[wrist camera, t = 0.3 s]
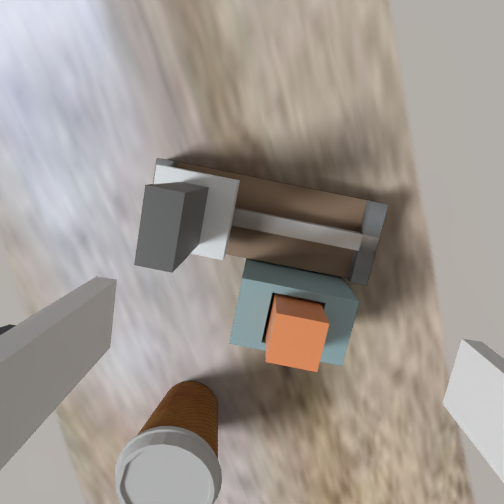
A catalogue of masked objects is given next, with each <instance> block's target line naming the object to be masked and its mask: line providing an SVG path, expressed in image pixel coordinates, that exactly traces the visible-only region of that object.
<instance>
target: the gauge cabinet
mask: <svg viewBox="0 0 504 504" xmlns="http://www.w3.org/2000/svg"><path fill="white" fill-rule="evenodd" d="M273 293H278V294H283V295H288V296H293V297H299V298H304V299H309V300H314V301H319V302H320V303H321V305H322V308H323V310H324V312H325V315H326V317H327V319H328V321H329V328H328V331H327V335H326V339H325V343H324V347H323V351H322V355H321V359H320V362H324V363H329V364H334V365H339V366H342V365H343V361H344V358H345V354H346V350H347V346H348V343H349V339H350V335H351V331H352V328H353V324H354V320H355V316H356V313H357V309H358V305H359V300H358V299H357V298H356V296H355V295H354V293H353V292H352V291H351V289H350V288H349V287H348V285H347V284H346V283H345V281H344V280H343V279H342V277H339V276H334V275H329V274H324V273H319V272H314V271H309V270H304V269H299V268H294V267H289V266H284V265H279V264H274V263H269V262H264V261H259V260H254V259H249V258H247V259H246V263H245V268H244V273H243V277H242V282H241V287H240V292H239V297H238V302H237V307H236V312H235V317H234V322H233V327H232V332H231V337H230V342H229V344H233V345H239V346H244V347H249V348H254V349H259V350H264V351H266V340H265V326H266V321H267V317H268V312H269V308H270V303H271V298H272V294H273Z"/></svg>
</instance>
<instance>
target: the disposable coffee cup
mask: <svg viewBox="0 0 504 504" xmlns="http://www.w3.org/2000/svg"><path fill="white" fill-rule="evenodd" d="M115 478H116V481H115V485H116V493H117V496H118V499H119V501H120V503H121V504H213V503H214V502H215V500H216V499H217V497H218V494H219V492H220V489H221V483H222V474H221V468H220V465H219V462H218V403H217V400H216V397H215V395H214V394H213V392H212V391H211V390H210V389H209V388H208V387H206V386H204V385H202V384H200V383H197V382H192V381H188V382H181V383H179V384H177V385H175V386H173V387H172V388H171V389H170V390H169V391H168V393H167V394H166V396H165V397H164V398H163V400H162V401H161V403H160V404H159V405H158V407H157V408H156V410H155V411H154V412H153V414H152V415H151V417H150V418H149V419H148V421H147V422H146V424H145V425H144V426H143V428H142V429H141V431H140V432H139V433H138V435H137V436H136V437H134V438H133V439H132V440H131V441H130V442H128V443H127V444H126V445H125V447H124V448H123V449H122V451H121V453H120V455H119V457H118V459H117V462H116V469H115Z"/></svg>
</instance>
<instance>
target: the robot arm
mask: <svg viewBox="0 0 504 504" xmlns="http://www.w3.org/2000/svg"><path fill="white" fill-rule="evenodd" d="M116 281H117V280H114V279H108V278H102V277H95V278H93V279H92V280H90V281H88V282H87V283H85V284H83V285H82V286H80V287H79V288H77V289H75V290H74V291H72V292H70V293H69V294H67V295H65V296H64V297H62V298H60V299H59V300H57V301H56V302H54V303H52V304H51V305H49V306H47V307H46V308H44V309H42V310H41V311H39V312H38V313H36V314H34V315H33V316H31V317H29V318H28V319H26V320H24V321H23V322H21V323H19V324H18V325H7V326H4V327H0V470H1V469H2V468H3V467H4V466H5V464H6V463H7V462H8V461H9V460H10V459H11V458H12V457H13V456H14V454H15V453H16V452H17V451H18V450H19V449H20V448H21V447H22V445H23V444H24V443H25V442H26V441H27V440H28V439H29V438H30V436H31V435H32V434H33V433H34V432H35V431H36V430H37V428H39V426H40V425H41V424H42V423H43V422H44V421H45V419H47V417H48V416H49V415H50V414H51V413H52V412H53V411H54V410H55V408H56V407H57V406H58V405H59V404H60V403H61V402H62V401H63V400H64V398H65V397H66V396H67V395H68V394H69V393H70V392H71V391H72V389H73V388H74V387H75V386H76V385H77V384H78V383H79V382H80V380H81V379H82V378H83V377H84V376H85V375H86V374H87V373H88V372H89V370H90V369H91V368H92V367H93V366H94V365H95V364H96V363H97V361H98V360H99V359H100V358H101V357H102V356H103V355H104V354H105V352H106V351H107V350H108V349H109V348H110V342H111V332H112V322H113V312H114V302H115V291H116ZM443 405H444V406H445V408H446V409H447V410H448V411H449V413H450V414H451V415H452V417H453V418H454V419H455V421H456V422H457V423H458V424H459V426H460V427H461V428H462V430H463V431H464V432H465V433H466V435H467V436H468V437H469V439H470V440H471V441H472V442H473V444H474V445H475V446H476V448H477V449H478V450H479V452H480V453H481V454H482V455H483V457H484V458H485V459H486V461H487V462H488V463H489V465H490V466H491V467H492V468H493V470H494V471H495V472H496V474H497V475H498V476H499V477H500V479H501V480H502V481H503V483H504V359H503V358H502V357H501V356H499V355H498V354H497V353H496V352H494V351H493V350H492V349H490V348H489V347H488V346H487V345H485V344H484V343H482V342H479V341H472V340H467V339H462V341H461V344H460V347H459V351H458V354H457V357H456V361H455V364H454V367H453V371H452V374H451V377H450V381H449V384H448V388H447V391H446V394H445V398H444V401H443Z"/></svg>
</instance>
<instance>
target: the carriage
mask: <svg viewBox="0 0 504 504" xmlns="http://www.w3.org/2000/svg"><path fill="white" fill-rule="evenodd" d="M239 182H240V180H235V179H230V178H225V177H220V176H215V175H210V174H205V173H200V172H195V171H190V170H185V169H180V168H175V167H170V166H165V165H156V170H155V177H154V184H150V185H145V192H144V199H143V207H142V214H141V221H140V228H139V235H138V243H137V250H136V257H135V264H134V265H137V266H142V267H147V268H152V269H157V270H162V271H167V272H173V271H174V270H175V269H176V268H177V267H178V266H179V265H180V264H181V263H182V262H183V261H184V260H185V259H186V258H187V256H188V255H189V254H195V255H200V256H205V257H210V258H215V259H220V260H223V259H224V257H225V255H226V252H227V246H228V241H229V236H230V230H231V225H232V220H233V214H234V209H235V204H236V198H237V193H238V188H239Z"/></svg>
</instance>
